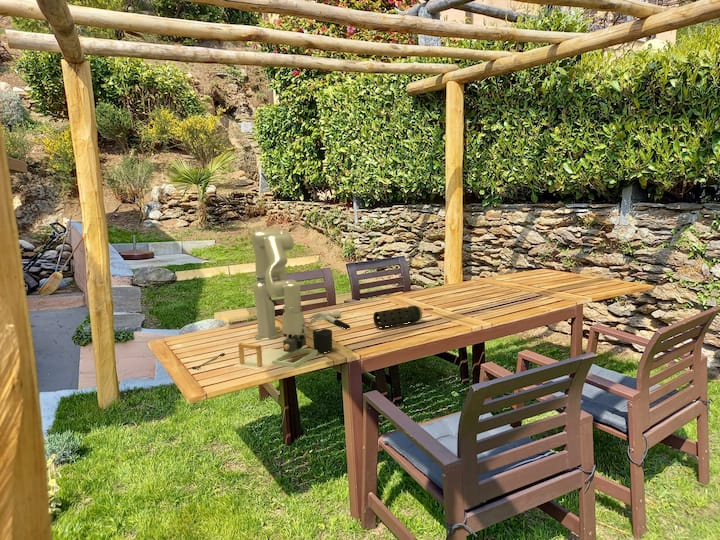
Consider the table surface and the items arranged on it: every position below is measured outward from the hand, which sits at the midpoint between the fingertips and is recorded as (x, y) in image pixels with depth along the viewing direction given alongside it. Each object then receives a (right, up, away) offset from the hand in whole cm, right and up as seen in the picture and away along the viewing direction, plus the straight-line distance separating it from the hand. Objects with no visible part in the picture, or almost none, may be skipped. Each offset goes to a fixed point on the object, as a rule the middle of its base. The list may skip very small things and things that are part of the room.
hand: (295, 347), depth 218 cm
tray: (0, -6, +1) cm, 6 cm away
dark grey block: (0, 0, 0) cm, 0 cm away
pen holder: (+12, -4, +13) cm, 18 cm away
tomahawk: (-39, -8, +2) cm, 40 cm away
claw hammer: (+14, +3, +62) cm, 63 cm away
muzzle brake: (+52, +3, +55) cm, 76 cm away
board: (-15, -6, +3) cm, 17 cm away
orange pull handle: (-19, -7, -6) cm, 21 cm away
